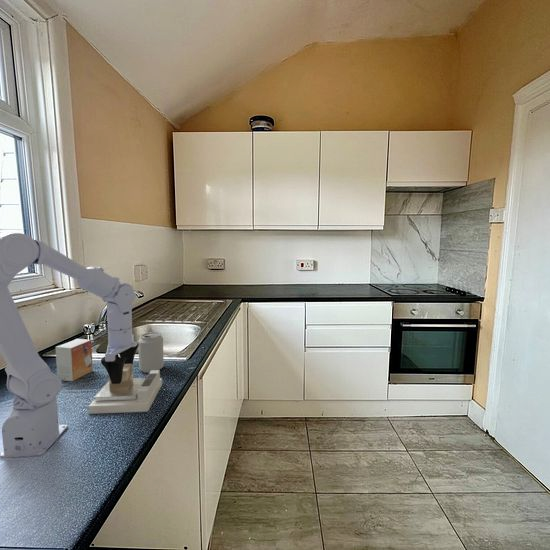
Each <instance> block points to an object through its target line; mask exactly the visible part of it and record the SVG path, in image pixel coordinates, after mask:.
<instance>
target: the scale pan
mask: <svg viewBox="0 0 550 550" xmlns="http://www.w3.org/2000/svg"><path fill="white" fill-rule="evenodd" d="M145 379H146V377H133V384H132V385H131V387H130V388H129V390H128V391H110V388H109V380H108V381H107V382H106V383H105V384H104V385H103V387H102V388H101V389H100V390H99V391H98V392H97V393H96V394H95V396H94V397H93V401H105V400H133V399H136V398H137V397H138V395H137V391H138V389H139V388H140V386H141V385H142V383H143V382H144V380H145Z"/></svg>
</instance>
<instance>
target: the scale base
mask: <svg viewBox="0 0 550 550" xmlns="http://www.w3.org/2000/svg"><path fill="white" fill-rule="evenodd" d="M160 372H161V370H151V371H150V373H147V374H148V375H147V376H146V377H145V378H146V379H145V380H144V382H143V383H142V385H141V386H140V388H139V389H138V391H137V395H138V397H137V398H136V399H133V400H105V401H94V400H92V402H91V403H90V404H89V405H88V414H89V415H90V414H92V415H93V414H94V415H95V414H115V413H117V414H118V413H138V412H139V413H143V412H144V413H145V412H146V413H147V412H149V410H150V408H151V406H152V404H153V403H154V401H155V399H156V397H157V395H158V393H159V391H160V389H161V387H162V385H163V378H162V377H161V373H160Z"/></svg>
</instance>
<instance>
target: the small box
mask: <svg viewBox="0 0 550 550" xmlns="http://www.w3.org/2000/svg"><path fill="white" fill-rule="evenodd" d="M92 345H93V344H92V339H85V338H75V339H73V340H71V341H68V342H65V343H63V344H59V345H57V346H55V362H56V375H57V376H58V377H59V378H60V379H61V381H67V382H74V381H76V380H79V378H82V377H83V376H85V375H87V374H90V373H92V372H94V371H93V349H92V348H93V347H92Z"/></svg>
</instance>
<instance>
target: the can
mask: <svg viewBox="0 0 550 550" xmlns="http://www.w3.org/2000/svg"><path fill="white" fill-rule="evenodd" d="M139 337H140V338H139V339H138V341H137V343H138V344H139V346H138V369H139V370H140V371H141V372H142V373H143V374H149V373H150V371H151V370H160V369H161V370H162V368H164V365H165V363H164V361H165V360H164V338H163V336H162V334H161V332H158V331H150V332H149V331H148V332H145V333H142V334H141V335H140V336H139ZM161 370H160V371H161Z"/></svg>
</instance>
